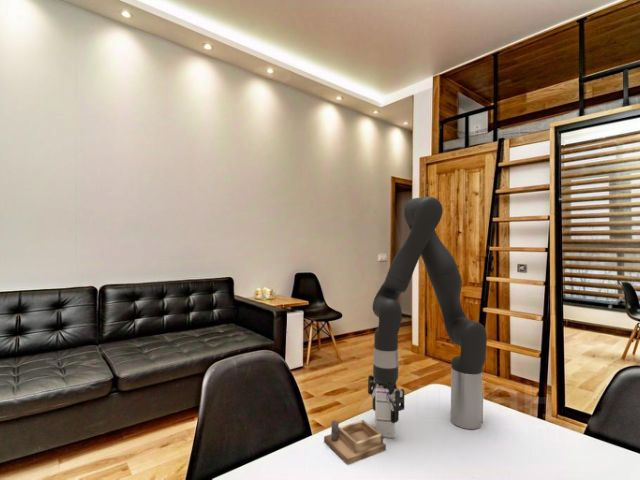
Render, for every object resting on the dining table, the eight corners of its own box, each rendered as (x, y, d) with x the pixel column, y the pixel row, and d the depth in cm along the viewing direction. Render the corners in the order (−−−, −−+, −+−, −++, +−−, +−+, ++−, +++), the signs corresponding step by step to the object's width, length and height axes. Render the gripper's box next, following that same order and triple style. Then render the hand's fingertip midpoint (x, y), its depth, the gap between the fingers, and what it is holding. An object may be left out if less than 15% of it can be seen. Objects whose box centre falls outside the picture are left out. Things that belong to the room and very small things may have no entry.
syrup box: (394, 438, 107) (395, 390, 106) (374, 436, 108) (375, 388, 108) (394, 428, 112) (395, 382, 112) (375, 426, 114) (376, 380, 113)
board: (360, 429, 112) (360, 408, 111) (386, 450, 101) (386, 427, 101) (324, 441, 105) (324, 419, 105) (347, 464, 95) (348, 440, 95)
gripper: (411, 368, 105) (411, 423, 106) (380, 353, 118) (379, 403, 118) (392, 373, 102) (391, 430, 102) (361, 357, 114) (360, 408, 114)
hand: (385, 415), depth 110 cm, fingers closed on syrup box, 8 cm apart
